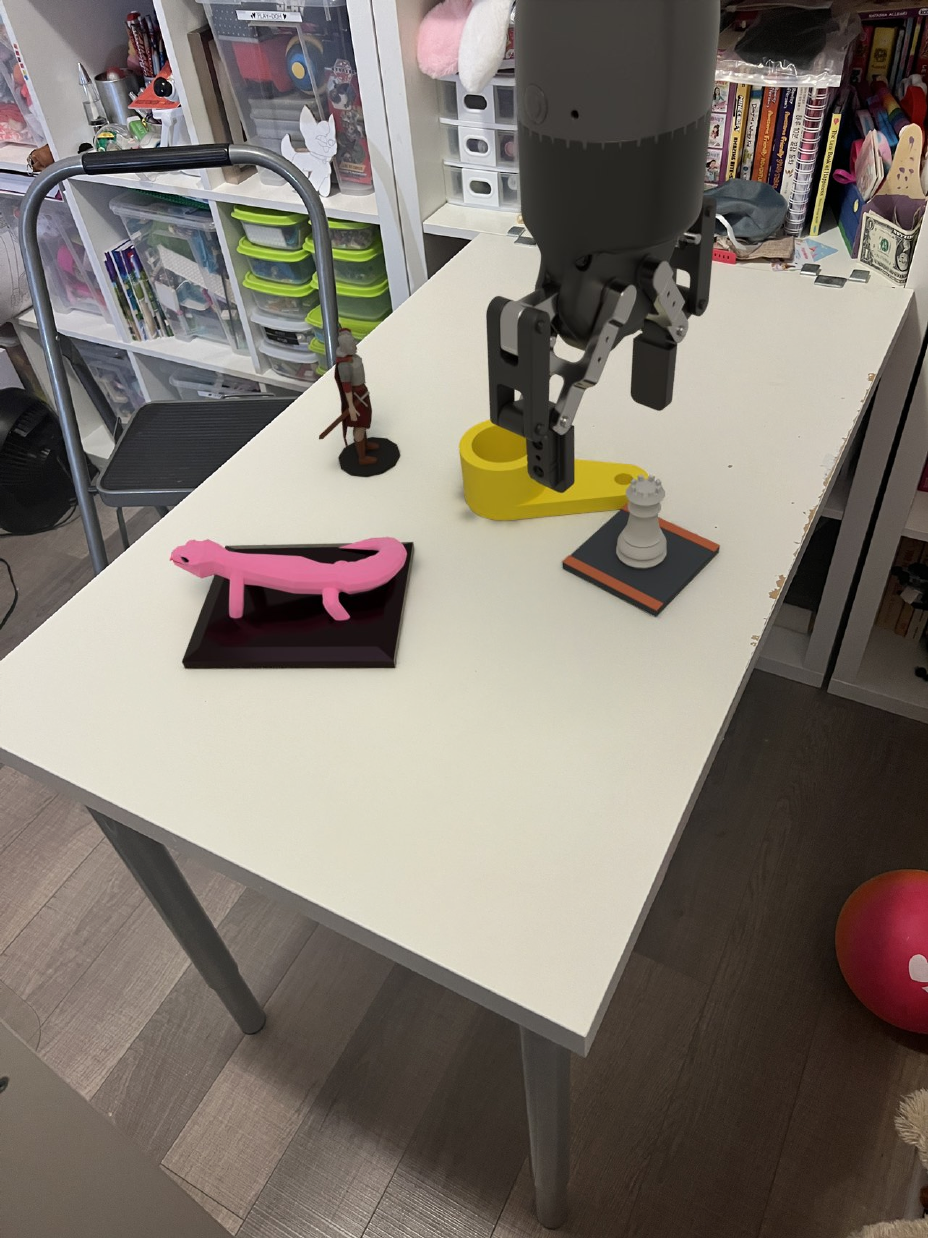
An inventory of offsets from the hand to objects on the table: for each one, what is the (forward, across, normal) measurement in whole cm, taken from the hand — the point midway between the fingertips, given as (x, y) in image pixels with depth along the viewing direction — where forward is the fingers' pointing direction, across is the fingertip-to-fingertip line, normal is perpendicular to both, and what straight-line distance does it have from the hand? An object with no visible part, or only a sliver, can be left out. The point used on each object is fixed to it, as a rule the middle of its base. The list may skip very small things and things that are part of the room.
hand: (604, 441), depth 46 cm
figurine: (+28, +15, +41) cm, 52 cm away
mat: (+28, +19, +9) cm, 35 cm away
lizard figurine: (+28, -4, +30) cm, 41 cm away
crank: (+28, +22, +21) cm, 42 cm away
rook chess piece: (+27, +19, +9) cm, 34 cm away
